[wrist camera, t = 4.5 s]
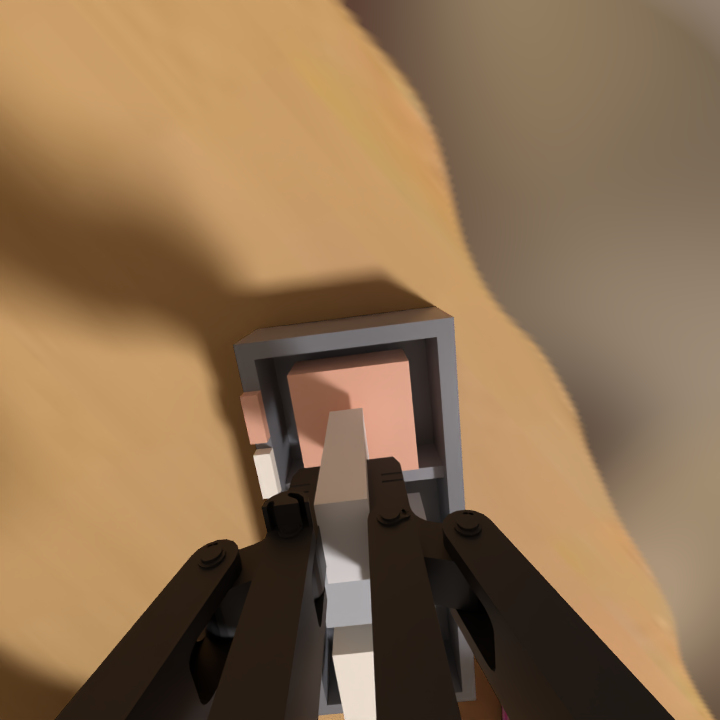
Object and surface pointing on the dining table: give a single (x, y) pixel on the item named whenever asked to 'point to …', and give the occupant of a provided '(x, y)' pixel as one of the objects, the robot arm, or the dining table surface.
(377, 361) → the key terracotta
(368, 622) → the key slate
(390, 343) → the keypad board
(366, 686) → the key ivory
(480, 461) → the dining table surface
